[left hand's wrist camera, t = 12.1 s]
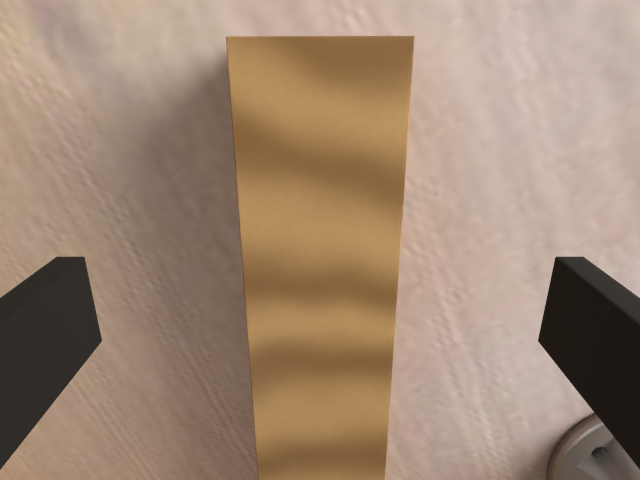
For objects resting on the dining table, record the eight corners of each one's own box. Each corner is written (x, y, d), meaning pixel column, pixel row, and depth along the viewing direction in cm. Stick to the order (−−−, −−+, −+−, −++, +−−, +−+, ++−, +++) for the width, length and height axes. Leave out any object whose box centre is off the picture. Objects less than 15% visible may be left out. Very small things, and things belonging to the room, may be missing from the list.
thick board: (246, 42, 30) (225, 36, 23) (394, 42, 30) (414, 35, 23) (278, 601, 51) (272, 678, 44) (364, 601, 51) (371, 678, 44)
